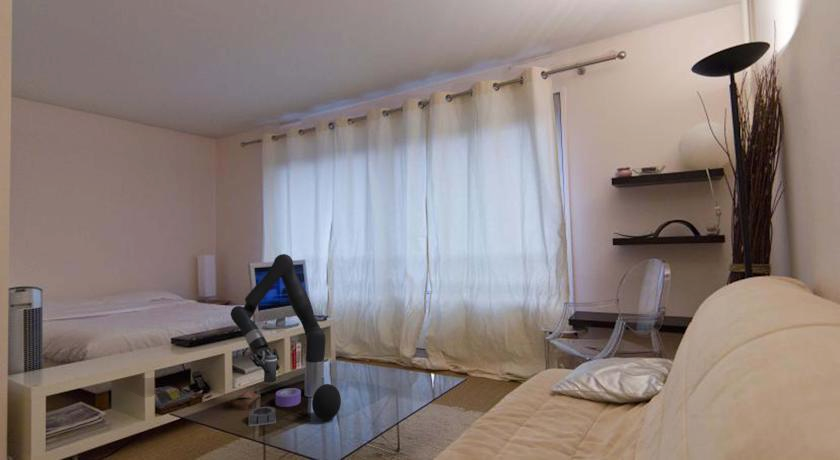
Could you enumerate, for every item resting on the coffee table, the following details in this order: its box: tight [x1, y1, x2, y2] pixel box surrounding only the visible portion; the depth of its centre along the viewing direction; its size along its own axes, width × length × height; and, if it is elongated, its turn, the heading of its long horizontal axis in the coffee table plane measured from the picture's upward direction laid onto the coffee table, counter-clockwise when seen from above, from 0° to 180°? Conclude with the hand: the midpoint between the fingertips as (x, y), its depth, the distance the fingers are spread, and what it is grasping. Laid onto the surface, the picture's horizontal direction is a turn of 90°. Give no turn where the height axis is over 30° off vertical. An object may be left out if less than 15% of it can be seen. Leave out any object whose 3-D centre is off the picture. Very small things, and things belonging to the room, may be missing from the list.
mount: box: [248, 406, 277, 427], centre depth 177 cm, size 11×11×4 cm
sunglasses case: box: [229, 389, 261, 410], centre depth 196 cm, size 18×7×7 cm, turn 2°
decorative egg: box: [311, 383, 342, 421], centre depth 179 cm, size 12×12×15 cm
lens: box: [263, 355, 278, 383], centre depth 189 cm, size 5×5×11 cm
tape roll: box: [274, 387, 302, 408], centre depth 198 cm, size 12×12×5 cm
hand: (273, 370), depth 188 cm, fingers closed on lens, 5 cm apart
